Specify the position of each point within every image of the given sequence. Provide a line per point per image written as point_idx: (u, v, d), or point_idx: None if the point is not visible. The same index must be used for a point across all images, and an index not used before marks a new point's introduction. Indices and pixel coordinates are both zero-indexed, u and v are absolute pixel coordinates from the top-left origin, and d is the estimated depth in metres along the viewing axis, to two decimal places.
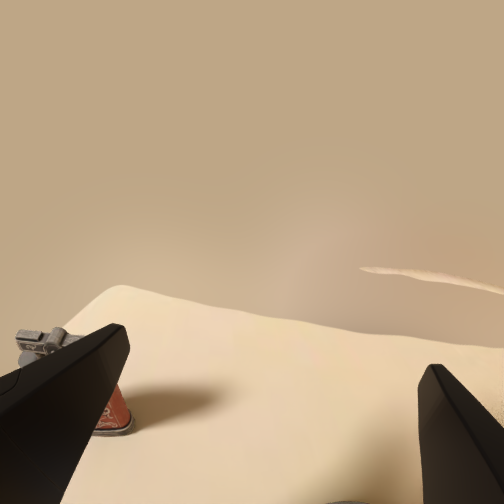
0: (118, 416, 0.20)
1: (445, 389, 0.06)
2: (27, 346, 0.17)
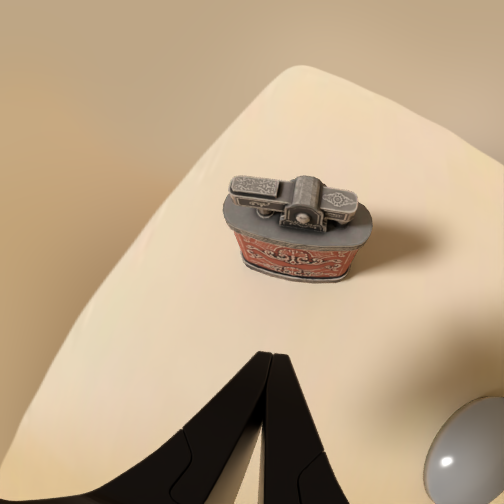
0: (344, 268, 0.20)
1: (269, 380, 0.07)
2: (252, 202, 0.15)
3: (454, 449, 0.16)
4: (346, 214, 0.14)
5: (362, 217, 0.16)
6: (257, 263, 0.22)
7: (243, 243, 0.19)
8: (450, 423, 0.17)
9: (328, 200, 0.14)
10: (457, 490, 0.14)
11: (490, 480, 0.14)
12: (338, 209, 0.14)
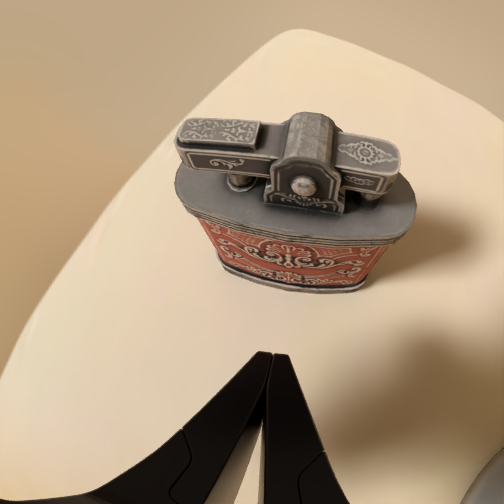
0: (364, 273, 0.14)
1: (269, 380, 0.07)
2: (214, 161, 0.08)
3: (492, 502, 0.09)
4: (382, 179, 0.07)
5: (400, 191, 0.09)
6: (238, 266, 0.16)
7: (212, 236, 0.13)
8: (491, 471, 0.10)
9: (349, 153, 0.08)
10: None
11: None
12: (368, 169, 0.07)
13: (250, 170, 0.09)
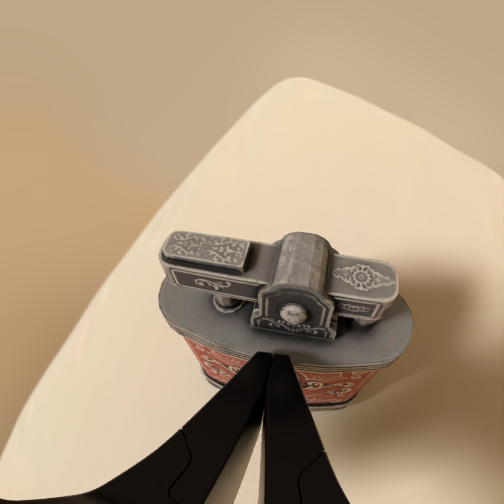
0: (355, 392, 0.12)
1: (270, 380, 0.07)
2: (199, 281, 0.08)
3: None
4: (378, 305, 0.07)
5: (396, 312, 0.09)
6: (222, 381, 0.14)
7: (196, 352, 0.12)
8: None
9: (344, 279, 0.07)
10: None
11: None
12: (364, 296, 0.07)
13: (237, 293, 0.08)
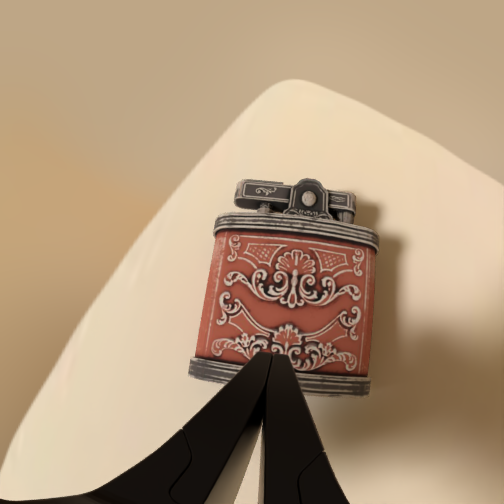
0: (366, 338, 0.13)
1: (269, 380, 0.07)
2: (259, 189, 0.16)
3: None
4: (348, 196, 0.15)
5: None
6: (223, 350, 0.13)
7: (222, 273, 0.14)
8: None
9: None
10: None
11: None
12: (340, 192, 0.15)
13: (277, 196, 0.15)
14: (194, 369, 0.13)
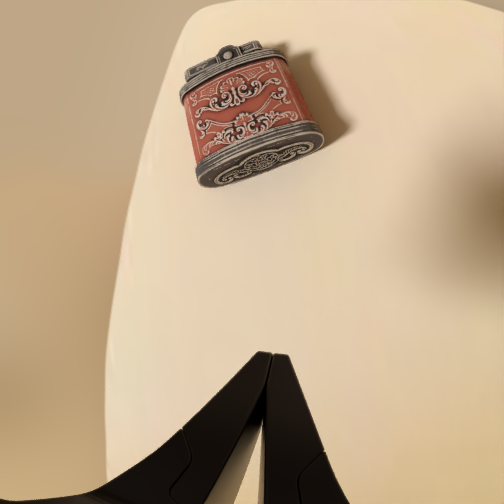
0: (297, 101, 0.17)
1: (269, 380, 0.07)
2: (197, 68, 0.20)
3: None
4: (252, 43, 0.19)
5: None
6: (209, 149, 0.18)
7: (192, 114, 0.19)
8: None
9: None
10: None
11: None
12: (247, 43, 0.20)
13: (210, 65, 0.20)
14: (198, 172, 0.18)
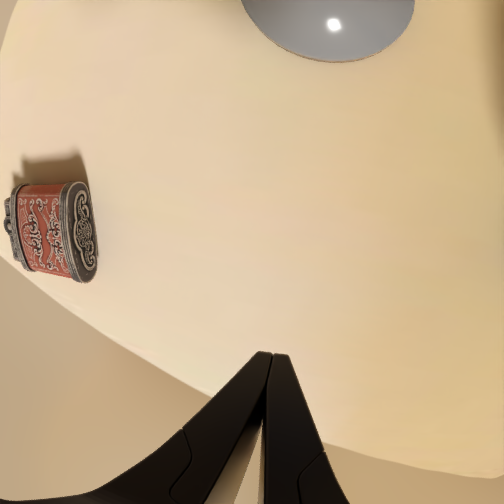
0: (47, 192, 0.20)
1: (269, 380, 0.07)
2: (14, 250, 0.23)
3: (305, 30, 0.14)
4: (5, 204, 0.22)
5: None
6: (65, 267, 0.22)
7: (42, 268, 0.23)
8: (270, 38, 0.15)
9: None
10: (372, 16, 0.13)
11: None
12: (5, 208, 0.22)
13: (14, 241, 0.23)
14: (79, 281, 0.22)
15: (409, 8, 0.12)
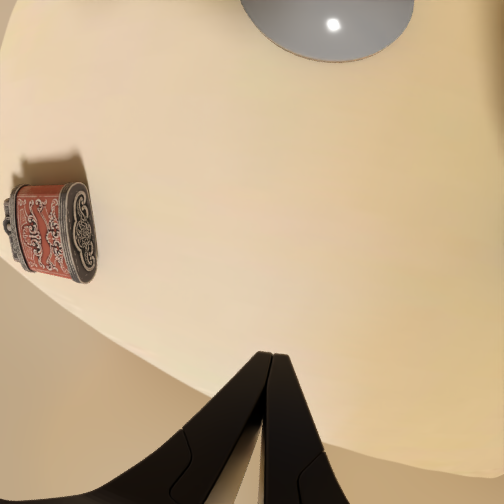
0: (46, 193, 0.20)
1: (269, 380, 0.07)
2: (14, 251, 0.23)
3: (305, 30, 0.14)
4: (5, 205, 0.22)
5: None
6: (65, 268, 0.22)
7: (42, 269, 0.23)
8: (269, 38, 0.15)
9: None
10: (371, 16, 0.13)
11: None
12: (5, 209, 0.22)
13: (13, 241, 0.23)
14: (78, 281, 0.22)
15: (409, 8, 0.12)
